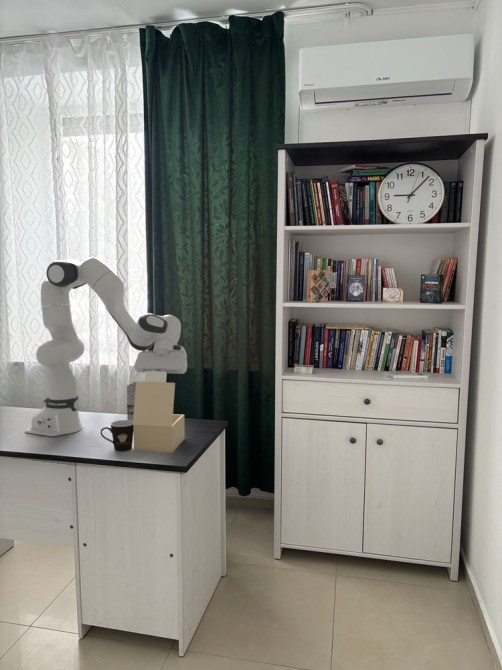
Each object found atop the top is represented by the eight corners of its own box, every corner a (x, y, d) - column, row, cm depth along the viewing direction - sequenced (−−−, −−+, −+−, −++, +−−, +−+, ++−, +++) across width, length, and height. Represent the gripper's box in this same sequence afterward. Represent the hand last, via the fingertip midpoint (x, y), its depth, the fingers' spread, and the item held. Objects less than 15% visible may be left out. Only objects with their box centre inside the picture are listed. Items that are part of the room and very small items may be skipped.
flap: (133, 424, 189) (132, 424, 188) (137, 370, 192) (136, 370, 191) (172, 426, 187) (171, 426, 186) (175, 372, 190) (175, 372, 189)
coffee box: (140, 421, 228) (139, 386, 226) (126, 420, 229) (126, 385, 227) (148, 415, 237) (147, 381, 235) (135, 414, 238) (134, 381, 236)
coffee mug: (138, 446, 195) (138, 420, 194) (128, 453, 187) (127, 427, 185) (111, 443, 198) (110, 418, 196) (99, 451, 189) (98, 425, 188)
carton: (133, 450, 190) (133, 424, 189) (148, 436, 206) (148, 412, 205) (172, 452, 188) (172, 426, 187) (184, 438, 204) (184, 414, 203)
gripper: (137, 345, 199) (128, 375, 190) (187, 347, 196) (180, 377, 187) (141, 355, 203) (132, 384, 195) (190, 356, 200) (184, 386, 192)
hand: (156, 381), depth 191 cm, fingers closed, pressing on flap
